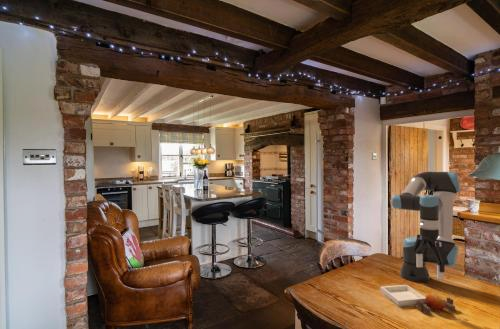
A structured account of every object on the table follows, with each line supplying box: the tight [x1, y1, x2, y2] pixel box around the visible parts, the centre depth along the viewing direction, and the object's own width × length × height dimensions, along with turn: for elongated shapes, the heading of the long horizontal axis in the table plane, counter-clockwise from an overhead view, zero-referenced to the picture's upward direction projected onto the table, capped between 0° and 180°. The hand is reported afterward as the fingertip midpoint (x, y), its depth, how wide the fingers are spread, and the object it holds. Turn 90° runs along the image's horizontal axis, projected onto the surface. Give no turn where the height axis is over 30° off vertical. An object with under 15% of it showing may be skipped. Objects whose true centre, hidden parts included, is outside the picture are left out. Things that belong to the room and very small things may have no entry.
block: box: [415, 297, 456, 315], centre depth 132 cm, size 16×6×4 cm, turn 97°
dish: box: [380, 284, 426, 308], centre depth 143 cm, size 15×15×3 cm
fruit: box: [425, 293, 446, 313], centre depth 132 cm, size 8×8×8 cm
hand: (429, 272), depth 132 cm, fingers open, 13 cm apart
